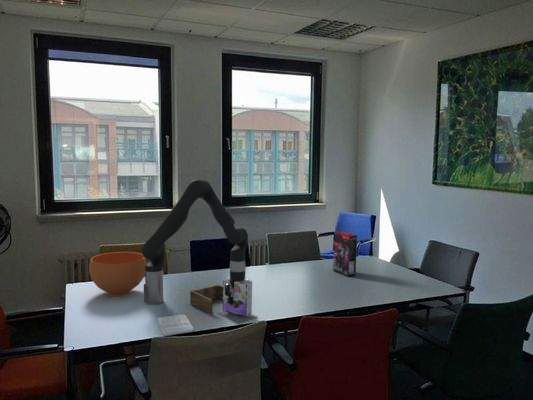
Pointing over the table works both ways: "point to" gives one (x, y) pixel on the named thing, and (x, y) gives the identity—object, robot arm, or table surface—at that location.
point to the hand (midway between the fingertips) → (237, 302)
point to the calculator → (175, 324)
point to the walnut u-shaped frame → (206, 297)
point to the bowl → (117, 272)
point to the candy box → (238, 297)
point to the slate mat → (237, 317)
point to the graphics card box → (345, 253)
